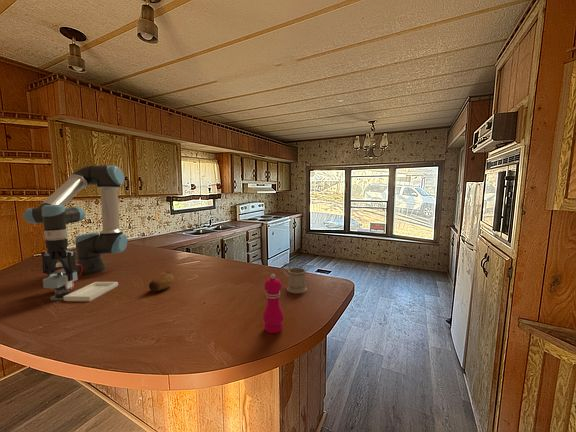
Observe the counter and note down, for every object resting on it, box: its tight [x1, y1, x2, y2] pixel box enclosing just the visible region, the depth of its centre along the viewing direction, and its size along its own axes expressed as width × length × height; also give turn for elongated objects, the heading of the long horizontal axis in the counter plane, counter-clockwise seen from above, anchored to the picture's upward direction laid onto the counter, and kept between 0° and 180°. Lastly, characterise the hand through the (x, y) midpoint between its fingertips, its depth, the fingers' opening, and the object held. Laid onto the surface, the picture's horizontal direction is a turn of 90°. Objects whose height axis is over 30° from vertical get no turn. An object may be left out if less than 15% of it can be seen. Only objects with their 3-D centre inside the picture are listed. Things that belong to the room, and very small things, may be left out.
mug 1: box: [53, 262, 83, 293], centre depth 125 cm, size 13×9×14 cm
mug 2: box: [282, 262, 308, 294], centre depth 125 cm, size 14×10×12 cm
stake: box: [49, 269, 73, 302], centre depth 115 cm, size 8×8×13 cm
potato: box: [148, 270, 175, 292], centre depth 125 cm, size 8×14×8 cm
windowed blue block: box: [42, 272, 79, 289], centre depth 116 cm, size 12×6×4 cm, turn 178°
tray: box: [63, 281, 119, 302], centre depth 120 cm, size 18×12×2 cm, turn 179°
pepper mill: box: [262, 273, 284, 334], centre depth 88 cm, size 7×7×20 cm
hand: (61, 287), depth 115 cm, fingers closed on windowed blue block, 6 cm apart
